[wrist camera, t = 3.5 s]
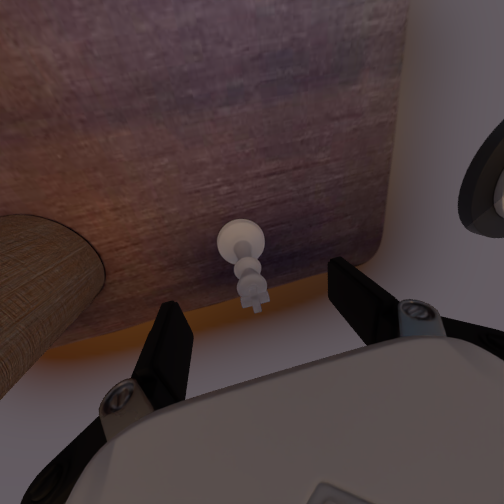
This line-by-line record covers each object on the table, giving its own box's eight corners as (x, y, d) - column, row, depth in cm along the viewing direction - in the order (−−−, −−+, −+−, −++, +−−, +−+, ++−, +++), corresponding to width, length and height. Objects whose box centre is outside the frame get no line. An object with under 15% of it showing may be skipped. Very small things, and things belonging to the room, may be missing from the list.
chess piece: (211, 225, 18) (200, 285, 9) (259, 213, 18) (295, 261, 9) (224, 267, 20) (225, 349, 11) (267, 256, 21) (302, 328, 12)
